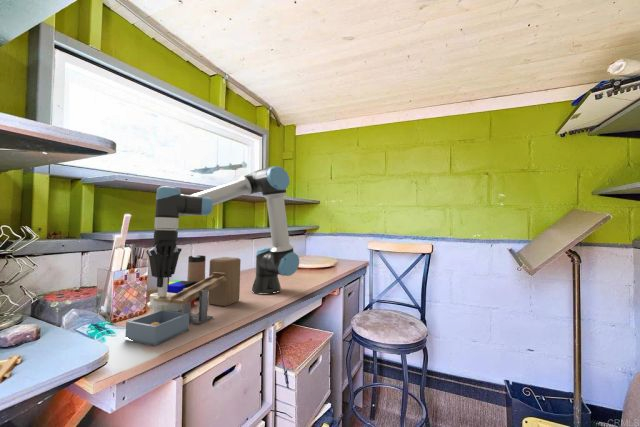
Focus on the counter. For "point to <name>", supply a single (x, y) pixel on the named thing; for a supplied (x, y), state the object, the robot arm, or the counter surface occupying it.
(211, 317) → the stand
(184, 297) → the lever
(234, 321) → the counter surface
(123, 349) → the counter surface
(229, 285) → the block
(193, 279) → the travel mug
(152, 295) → the pipe fitting
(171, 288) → the puzzle toy
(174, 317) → the tray
